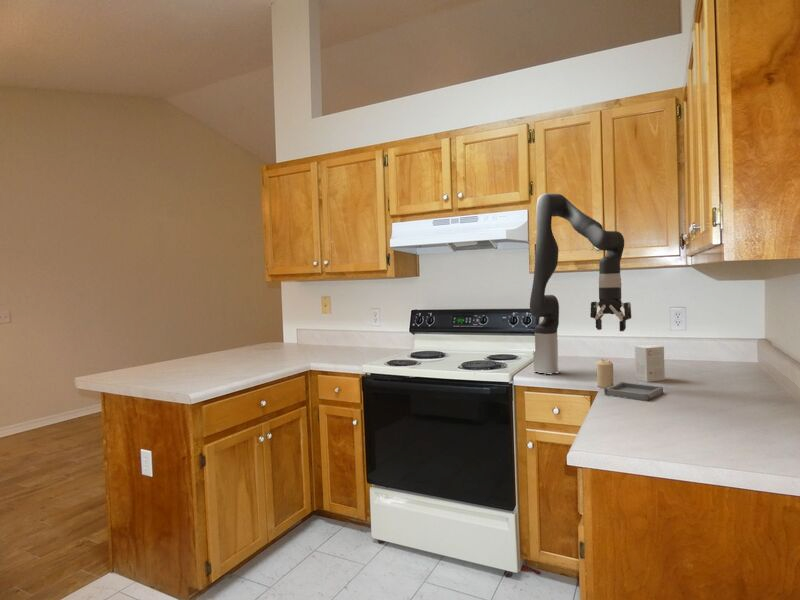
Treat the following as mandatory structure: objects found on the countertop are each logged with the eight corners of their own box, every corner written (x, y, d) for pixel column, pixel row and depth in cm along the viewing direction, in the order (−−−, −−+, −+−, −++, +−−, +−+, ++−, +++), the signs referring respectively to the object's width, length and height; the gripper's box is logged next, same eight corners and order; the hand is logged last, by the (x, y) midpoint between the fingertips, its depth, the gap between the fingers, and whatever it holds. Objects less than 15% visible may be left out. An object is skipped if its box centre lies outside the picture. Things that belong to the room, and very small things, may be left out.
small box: (652, 377, 191) (652, 344, 190) (665, 380, 185) (664, 346, 184) (635, 379, 189) (634, 345, 188) (647, 382, 183) (646, 347, 182)
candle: (604, 389, 175) (603, 361, 175) (594, 385, 180) (593, 359, 180) (617, 387, 176) (616, 360, 176) (606, 384, 182) (606, 357, 181)
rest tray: (604, 394, 166) (604, 389, 166) (621, 387, 176) (621, 382, 176) (647, 401, 156) (647, 394, 156) (663, 392, 166) (663, 387, 166)
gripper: (586, 286, 180) (586, 330, 181) (624, 286, 169) (624, 332, 170) (596, 285, 185) (597, 328, 186) (634, 285, 174) (634, 330, 175)
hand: (610, 330), depth 178 cm, fingers open, 8 cm apart
